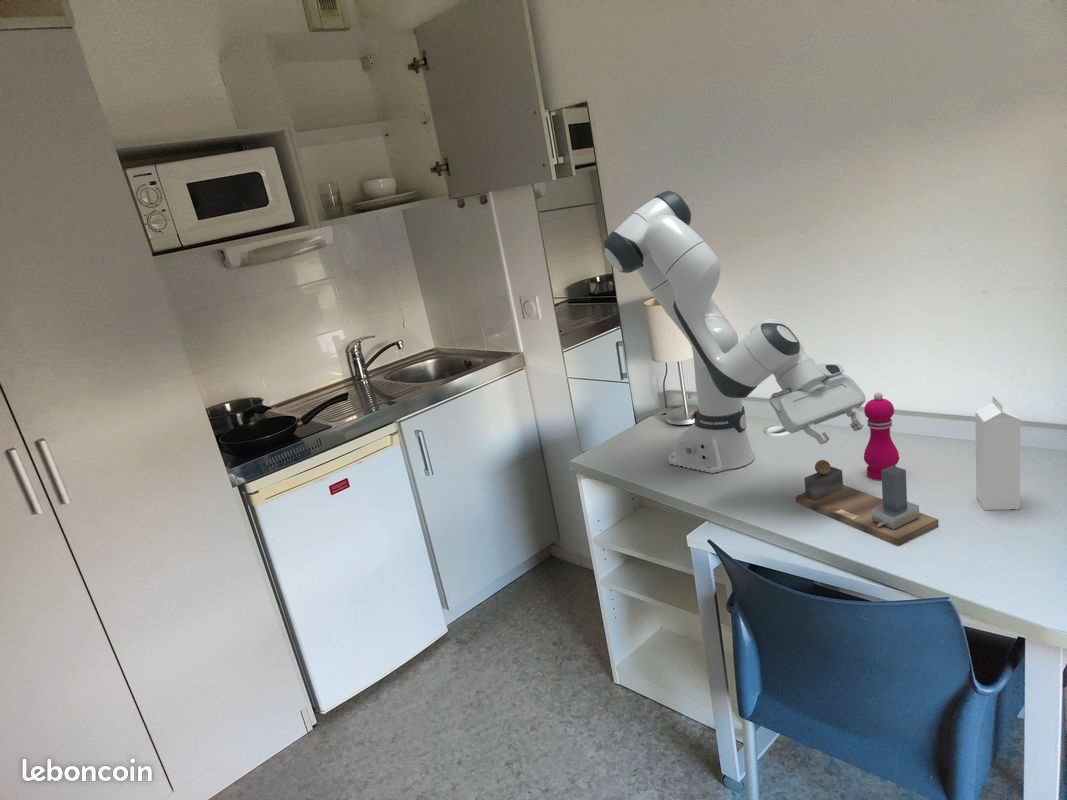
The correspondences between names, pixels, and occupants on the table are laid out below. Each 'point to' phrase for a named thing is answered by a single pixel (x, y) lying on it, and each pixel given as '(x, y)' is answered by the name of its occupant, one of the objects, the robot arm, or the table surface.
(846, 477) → the table surface
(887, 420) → the pepper mill
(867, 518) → the base
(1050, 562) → the table surface
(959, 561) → the table surface
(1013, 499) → the milk
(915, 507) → the handle
